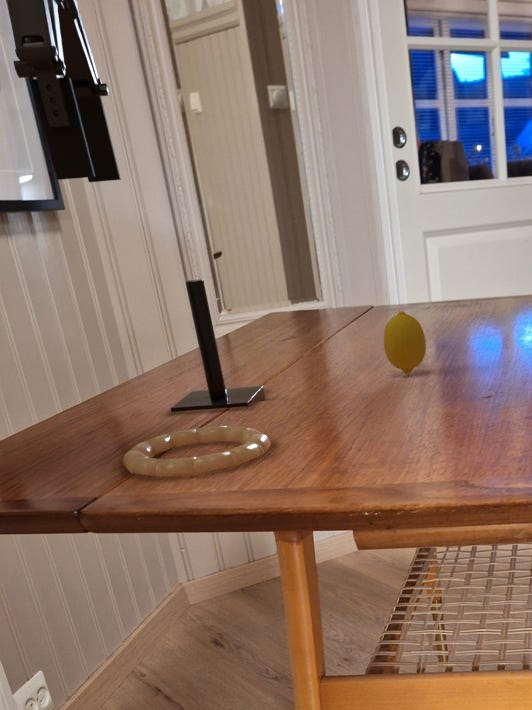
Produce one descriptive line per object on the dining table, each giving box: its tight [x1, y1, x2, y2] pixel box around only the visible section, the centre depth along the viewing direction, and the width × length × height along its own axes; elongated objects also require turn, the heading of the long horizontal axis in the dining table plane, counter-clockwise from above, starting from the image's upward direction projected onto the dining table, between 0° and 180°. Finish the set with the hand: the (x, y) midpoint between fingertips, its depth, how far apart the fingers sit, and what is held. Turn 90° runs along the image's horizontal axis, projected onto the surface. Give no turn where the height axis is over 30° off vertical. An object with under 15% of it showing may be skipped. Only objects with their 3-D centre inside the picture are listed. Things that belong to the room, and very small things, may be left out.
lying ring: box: [122, 425, 272, 477], centre depth 83 cm, size 13×13×2 cm
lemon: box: [383, 310, 427, 375], centre depth 114 cm, size 6×6×8 cm
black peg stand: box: [170, 278, 266, 413], centre depth 101 cm, size 9×9×14 cm
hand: (92, 180), depth 73 cm, fingers open, 13 cm apart
